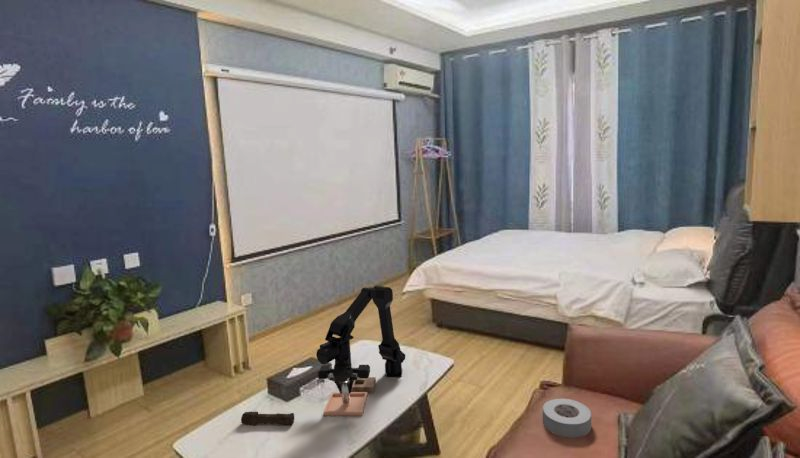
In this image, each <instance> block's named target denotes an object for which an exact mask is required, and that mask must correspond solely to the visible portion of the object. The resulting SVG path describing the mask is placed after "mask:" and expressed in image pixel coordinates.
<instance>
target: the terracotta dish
mask: <svg viewBox="0 0 800 458" xmlns="http://www.w3.org/2000/svg"><path fill="white" fill-rule="evenodd" d="M368 394H369V393H367V392H351V393H350V403H348V404H343V403H342V394H340V392H338V391H337V392H330V396H329V398H328V401H327V403H326V405H325V408H324V410H323V417H363V416H364V411H365V408H366V404H367V400H368V396H369V395H368Z"/></svg>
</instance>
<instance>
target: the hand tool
mask: <svg viewBox="0 0 800 458" xmlns="http://www.w3.org/2000/svg"><path fill="white" fill-rule="evenodd" d="M240 418H241V419H240V423H241V424H243V425H244V426H245V425H246V426H251V427H252V426H253V427H256V426H258V425H280V426H281V425H283V426H284V425H286V426H287V425H289V426H290V427H292V426H293V425H294V423H295V413H294V412H289V413H278V412H277V413H259V411H245V412H244V413H243V414H242V416H241V417H240Z"/></svg>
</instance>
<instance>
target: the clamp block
mask: <svg viewBox="0 0 800 458" xmlns="http://www.w3.org/2000/svg"><path fill="white" fill-rule="evenodd" d="M347 380H348V381H349V378H347ZM376 382H377V381H376V376H374V377H372V376H369V377H368V378H359V377H358V379H357V380H354V382H353V386H352V390H351V392H367V393H368V394H374V391H375V388H376V384H377V383H376Z"/></svg>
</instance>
